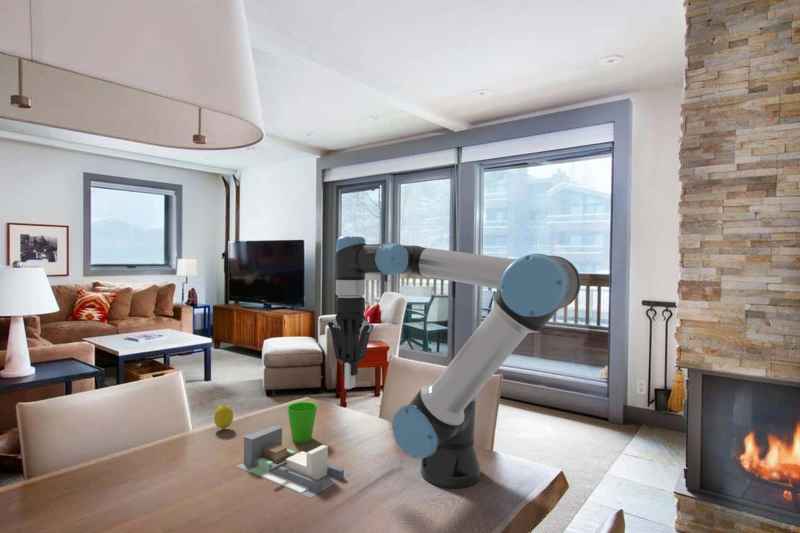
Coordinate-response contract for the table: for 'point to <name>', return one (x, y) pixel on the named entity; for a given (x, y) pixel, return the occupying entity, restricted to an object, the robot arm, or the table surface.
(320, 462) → the cream block
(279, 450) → the tan wooden cube
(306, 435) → the cup
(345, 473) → the base
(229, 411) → the lemon
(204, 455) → the table surface
